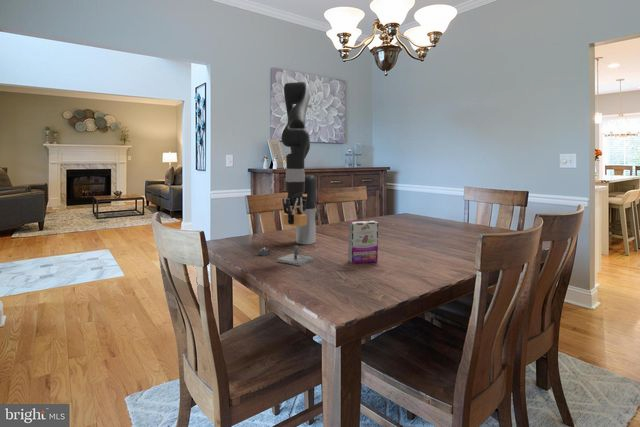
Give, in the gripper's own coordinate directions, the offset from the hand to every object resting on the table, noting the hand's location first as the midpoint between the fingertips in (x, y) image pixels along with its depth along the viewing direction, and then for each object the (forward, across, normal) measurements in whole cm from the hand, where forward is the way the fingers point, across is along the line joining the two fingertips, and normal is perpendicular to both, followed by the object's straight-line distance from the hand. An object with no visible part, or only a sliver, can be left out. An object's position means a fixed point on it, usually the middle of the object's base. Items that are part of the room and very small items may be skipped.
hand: (295, 222), depth 148 cm
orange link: (+1, 0, 0) cm, 1 cm away
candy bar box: (+16, -15, +23) cm, 32 cm away
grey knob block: (+16, -1, -17) cm, 23 cm away
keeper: (+16, 0, 0) cm, 16 cm away
